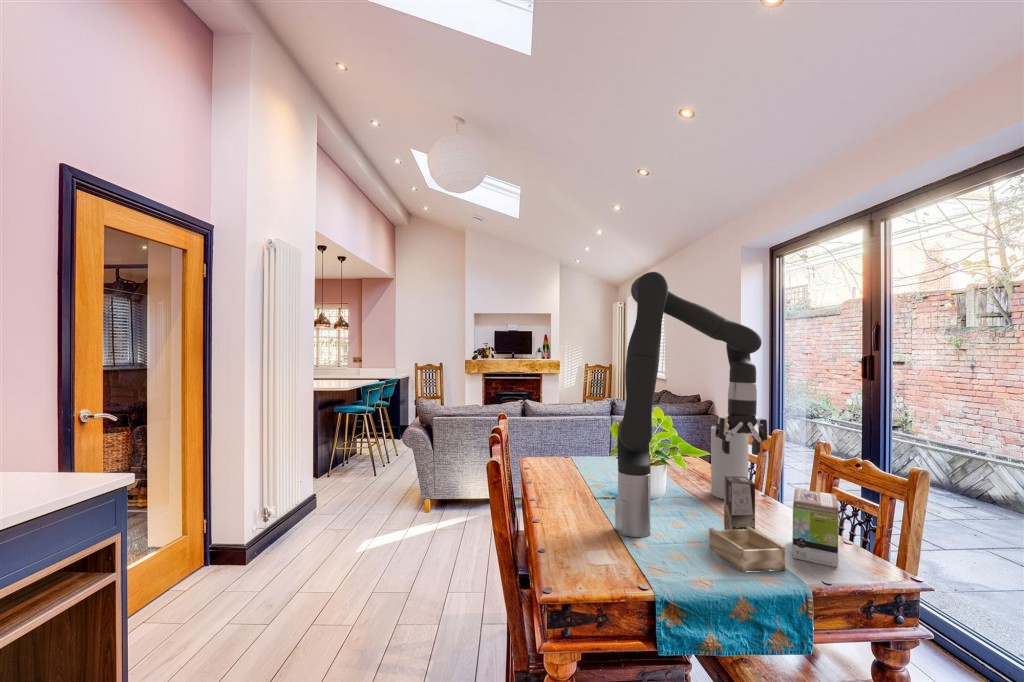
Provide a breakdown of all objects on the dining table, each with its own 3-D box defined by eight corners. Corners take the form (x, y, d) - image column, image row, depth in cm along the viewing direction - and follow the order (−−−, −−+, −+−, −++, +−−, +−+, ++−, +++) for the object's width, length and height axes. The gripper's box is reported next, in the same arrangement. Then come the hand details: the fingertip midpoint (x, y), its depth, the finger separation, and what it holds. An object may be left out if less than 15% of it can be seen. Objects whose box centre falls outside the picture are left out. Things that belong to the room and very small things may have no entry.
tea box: (839, 568, 116) (839, 507, 117) (791, 559, 121) (791, 500, 122) (836, 548, 129) (836, 492, 129) (793, 540, 134) (793, 487, 135)
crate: (739, 572, 113) (739, 548, 113) (708, 549, 127) (708, 528, 127) (785, 570, 114) (785, 547, 115) (749, 547, 128) (749, 526, 128)
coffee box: (756, 543, 131) (756, 484, 132) (731, 541, 133) (731, 482, 133) (746, 531, 140) (746, 476, 141) (723, 529, 142) (723, 474, 142)
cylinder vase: (715, 489, 184) (715, 424, 185) (751, 495, 177) (751, 428, 178) (707, 497, 174) (707, 428, 175) (744, 504, 167) (744, 432, 168)
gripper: (724, 398, 135) (723, 456, 135) (773, 400, 136) (772, 457, 135) (712, 396, 142) (710, 450, 142) (758, 397, 143) (757, 452, 143)
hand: (740, 454), depth 139 cm, fingers open, 8 cm apart
